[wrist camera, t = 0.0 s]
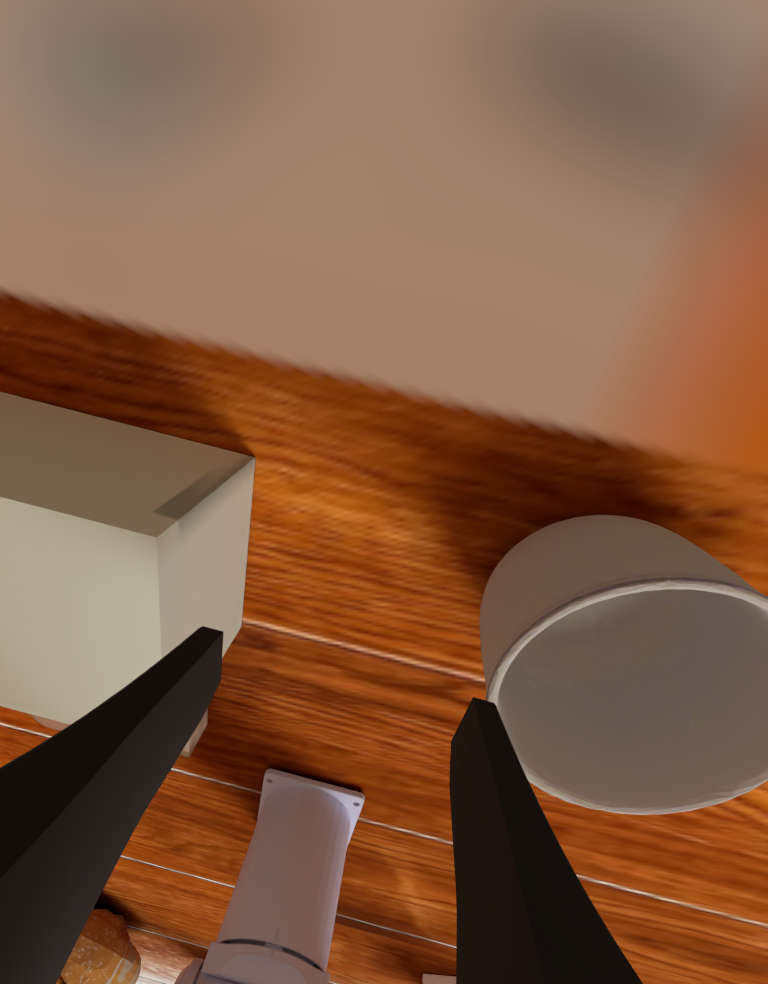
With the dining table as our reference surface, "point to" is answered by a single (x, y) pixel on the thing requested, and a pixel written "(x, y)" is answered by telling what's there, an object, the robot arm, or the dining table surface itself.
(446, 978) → the milk
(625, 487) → the dining table surface
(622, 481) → the dining table surface
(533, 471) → the dining table surface
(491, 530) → the dining table surface
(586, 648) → the teacup
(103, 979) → the nautilus
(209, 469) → the grey bridge stand
